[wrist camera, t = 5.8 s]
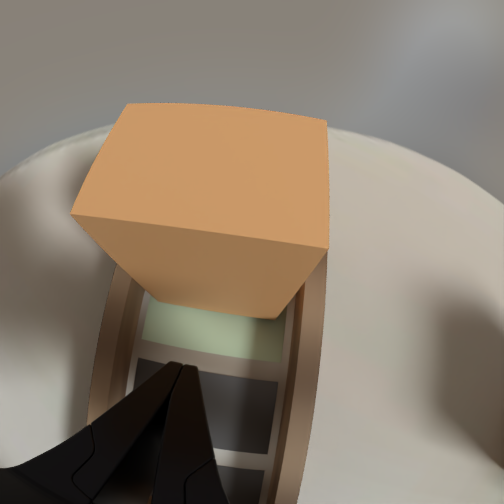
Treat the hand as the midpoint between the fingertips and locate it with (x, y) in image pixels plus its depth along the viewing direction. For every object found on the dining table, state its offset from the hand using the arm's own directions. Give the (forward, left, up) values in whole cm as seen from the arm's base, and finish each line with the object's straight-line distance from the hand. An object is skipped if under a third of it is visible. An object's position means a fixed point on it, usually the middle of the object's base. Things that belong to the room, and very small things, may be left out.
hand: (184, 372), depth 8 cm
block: (+4, +3, -6) cm, 7 cm away
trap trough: (+1, 0, -7) cm, 7 cm away
